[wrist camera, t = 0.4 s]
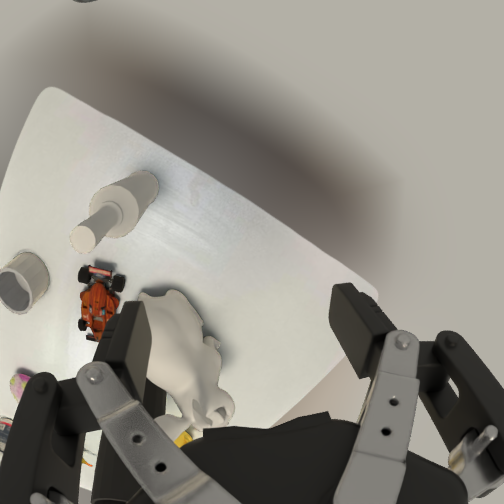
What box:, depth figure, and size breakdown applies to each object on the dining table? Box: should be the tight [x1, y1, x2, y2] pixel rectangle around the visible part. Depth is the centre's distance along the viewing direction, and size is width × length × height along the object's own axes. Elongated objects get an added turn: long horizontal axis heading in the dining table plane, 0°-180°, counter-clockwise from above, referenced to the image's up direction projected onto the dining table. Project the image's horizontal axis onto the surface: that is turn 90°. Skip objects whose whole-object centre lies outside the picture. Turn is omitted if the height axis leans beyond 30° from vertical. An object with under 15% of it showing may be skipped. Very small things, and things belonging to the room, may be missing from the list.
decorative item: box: [10, 374, 31, 403], centre depth 46 cm, size 9×11×10 cm
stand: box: [0, 252, 49, 314], centre depth 39 cm, size 8×8×7 cm
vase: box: [91, 377, 166, 504], centre depth 39 cm, size 10×10×30 cm
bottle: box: [70, 171, 159, 254], centre depth 30 cm, size 5×5×25 cm
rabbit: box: [138, 289, 235, 442], centre depth 39 cm, size 12×21×25 cm, turn 34°
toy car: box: [78, 265, 125, 342], centre depth 44 cm, size 8×16×4 cm, turn 163°
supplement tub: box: [0, 418, 13, 464], centre depth 46 cm, size 13×13×18 cm
